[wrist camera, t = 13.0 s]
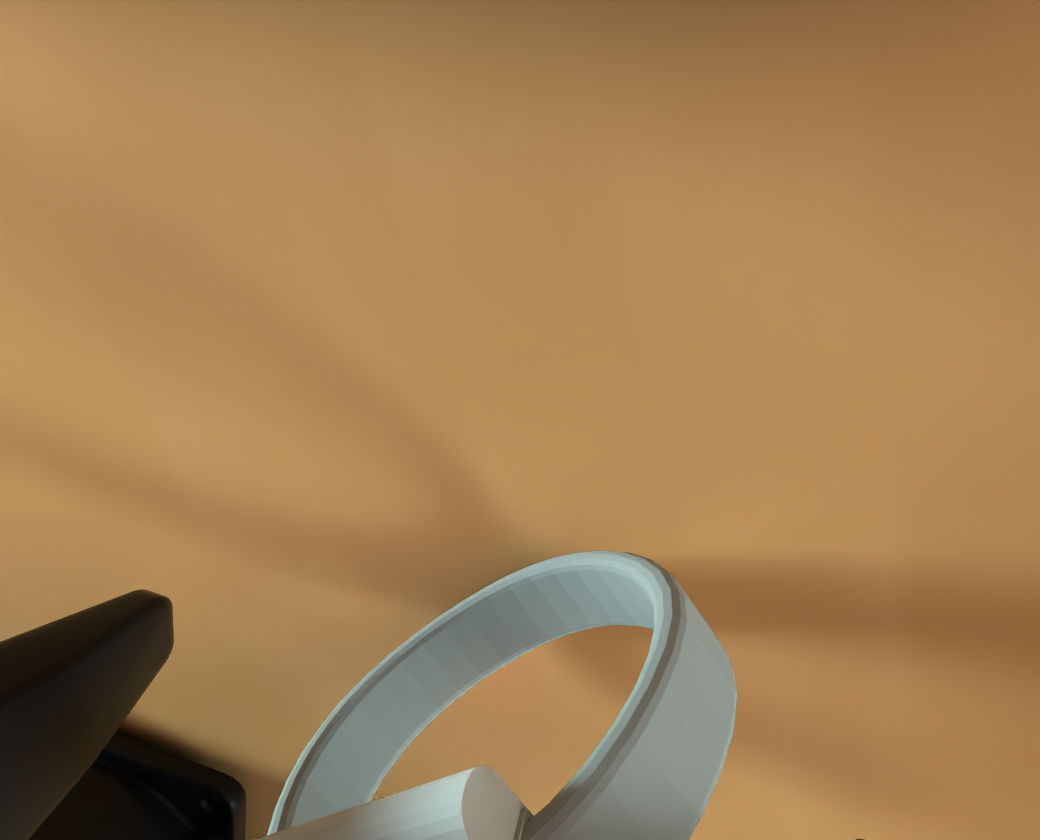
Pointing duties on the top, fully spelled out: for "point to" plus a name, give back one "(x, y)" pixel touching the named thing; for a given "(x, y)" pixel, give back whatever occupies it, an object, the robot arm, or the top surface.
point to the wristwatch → (484, 649)
